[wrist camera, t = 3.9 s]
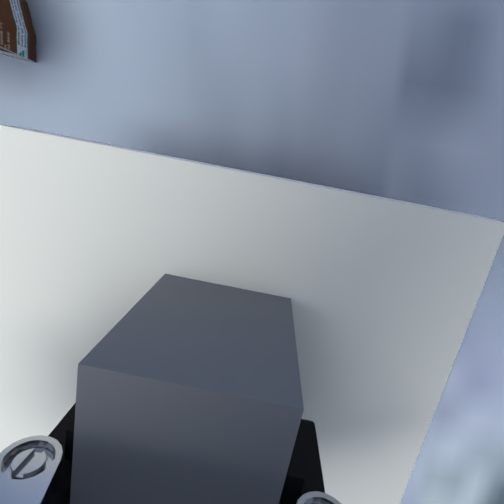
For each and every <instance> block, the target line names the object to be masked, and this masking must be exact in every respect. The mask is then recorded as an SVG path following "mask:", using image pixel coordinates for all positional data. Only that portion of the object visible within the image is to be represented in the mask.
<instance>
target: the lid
mask: <svg viewBox="0 0 504 504" xmlns="http://www.w3.org/2000/svg"><path fill="white" fill-rule="evenodd" d="M503 235H504V222H502V221H499V220H495V219H491V218H488V217H484V216H479V215H474V214H469V213H463V212H458V211H453V210H448V209H443V208H437V207H432V206H427V205H422V204H417V203H411V202H406V201H401V200H396V199H391V198H386V197H380V196H375V195H370V194H365V193H360V192H354V191H349V190H344V189H339V188H334V187H328V186H323V185H318V184H313V183H308V182H302V181H297V180H292V179H287V178H282V177H277V176H271V175H266V174H261V173H256V172H251V171H245V170H240V169H235V168H230V167H225V166H219V165H214V164H209V163H204V162H199V161H193V160H188V159H183V158H178V157H173V156H168V155H162V154H157V153H152V152H147V151H142V150H136V149H131V148H126V147H121V146H116V145H110V144H105V143H100V142H95V141H90V140H84V139H79V138H74V137H69V136H64V135H59V134H53V133H48V132H43V131H38V130H33V129H27V128H22V127H15V126H7V125H0V453H1V452H2V451H3V450H4V449H5V448H6V447H8V446H9V445H11V444H12V443H14V442H16V441H18V440H20V439H23V438H27V437H30V436H39V435H44V436H48V435H49V434H50V433H51V432H52V431H53V429H54V428H55V427H56V426H57V424H58V423H59V422H60V421H61V420H62V418H63V417H64V416H65V415H66V413H67V412H68V411H69V410H70V409H71V407H72V406H73V405H74V404H75V402H76V406H75V423H74V440H73V457H72V474H71V491H70V504H279V501H280V497H281V493H282V489H283V486H284V482H285V478H286V474H287V471H288V467H289V463H290V459H291V456H292V452H293V448H294V444H295V441H296V437H297V433H298V429H299V426H300V422H301V419H305V420H310V421H313V422H314V424H315V428H316V435H317V442H318V448H319V455H320V461H321V468H322V475H323V481H324V488H325V493H326V494H328V495H330V496H332V497H334V498H335V499H337V500H338V501H339V502H340V503H341V504H400V502H401V499H402V497H403V494H404V491H405V489H406V486H407V484H408V481H409V478H410V476H411V473H412V471H413V468H414V466H415V463H416V460H417V458H418V455H419V453H420V450H421V447H422V445H423V442H424V440H425V437H426V434H427V432H428V429H429V427H430V424H431V422H432V419H433V416H434V414H435V411H436V409H437V406H438V403H439V401H440V398H441V396H442V393H443V391H444V388H445V385H446V383H447V380H448V378H449V375H450V372H451V370H452V367H453V365H454V362H455V359H456V357H457V354H458V352H459V349H460V347H461V344H462V341H463V339H464V336H465V334H466V331H467V328H468V326H469V323H470V321H471V318H472V316H473V313H474V310H475V308H476V305H477V303H478V300H479V297H480V295H481V292H482V290H483V287H484V284H485V282H486V279H487V277H488V274H489V272H490V269H491V266H492V264H493V261H494V259H495V256H496V253H497V251H498V248H499V246H500V243H501V241H502V238H503Z"/></svg>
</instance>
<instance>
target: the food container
mask: <svg viewBox="0 0 504 504" xmlns="http://www.w3.org/2000/svg"><path fill="white" fill-rule="evenodd" d="M0 54H3V55H7V56H11V57H16V58H20V59H24V60H28V61H32V62H36V36H35V32H34V28H33V24H32V20H31V16H30V12H29V8H28V4H27V2H26V1H25V0H0Z"/></svg>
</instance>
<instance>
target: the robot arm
mask: <svg viewBox="0 0 504 504" xmlns="http://www.w3.org/2000/svg"><path fill="white" fill-rule="evenodd" d="M75 406H76V402H75V404H74V405H73V406H72V407H71V409H70V410H69V411H68V412H67V413H66V415H65V416H64V417H63V418H62V420H61V421H60V422H59V423H58V424H57V426H56V427H55V428H54V429H53V431H52V432H51V433H50V434H49V435H48V436H44V435H39V436H30V437H27V438H23V439H20V440H18V441H16V442H14V443H12V444H11V445H9V446H8V447H6V448H5V449H4V450H3V451H2V452H1V453H0V504H70V491H71V474H72V457H73V440H74V423H75ZM279 504H341V503H340V502H339V501H338V500H337V499H335V498H334V497H332V496H330V495H328V494H326V493H325V488H324V481H323V475H322V468H321V461H320V455H319V448H318V442H317V435H316V428H315V424H314V422H313V421H310V420H305V419H301V422H300V426H299V429H298V433H297V437H296V441H295V444H294V448H293V452H292V456H291V459H290V463H289V467H288V471H287V474H286V478H285V482H284V486H283V489H282V493H281V497H280V501H279Z"/></svg>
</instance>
